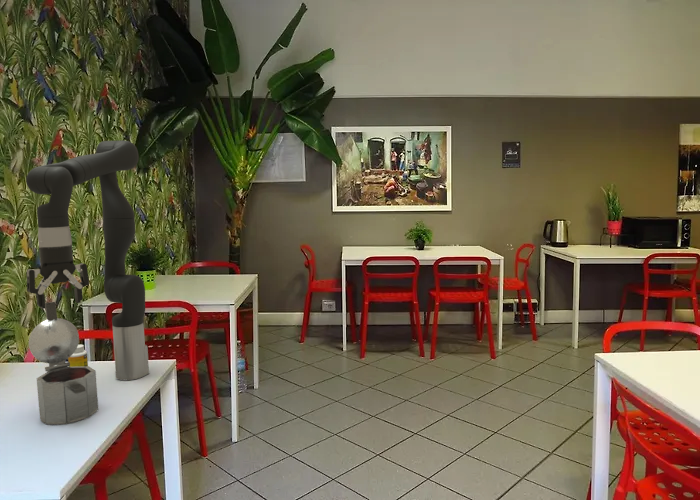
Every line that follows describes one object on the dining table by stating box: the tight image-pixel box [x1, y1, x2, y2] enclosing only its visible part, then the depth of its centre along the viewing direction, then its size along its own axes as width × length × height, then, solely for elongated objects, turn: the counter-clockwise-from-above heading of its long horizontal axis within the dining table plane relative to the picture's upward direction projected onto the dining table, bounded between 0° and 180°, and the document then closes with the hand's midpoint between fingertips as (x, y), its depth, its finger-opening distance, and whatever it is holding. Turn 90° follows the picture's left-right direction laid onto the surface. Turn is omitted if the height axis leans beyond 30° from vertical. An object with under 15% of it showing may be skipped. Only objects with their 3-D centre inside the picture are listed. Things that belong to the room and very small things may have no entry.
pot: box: [36, 365, 99, 426], centre depth 140 cm, size 14×18×11 cm
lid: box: [28, 301, 80, 372], centre depth 146 cm, size 12×19×2 cm
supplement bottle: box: [67, 344, 89, 367], centre depth 170 cm, size 6×6×10 cm
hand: (60, 305), depth 138 cm, fingers open, 8 cm apart
